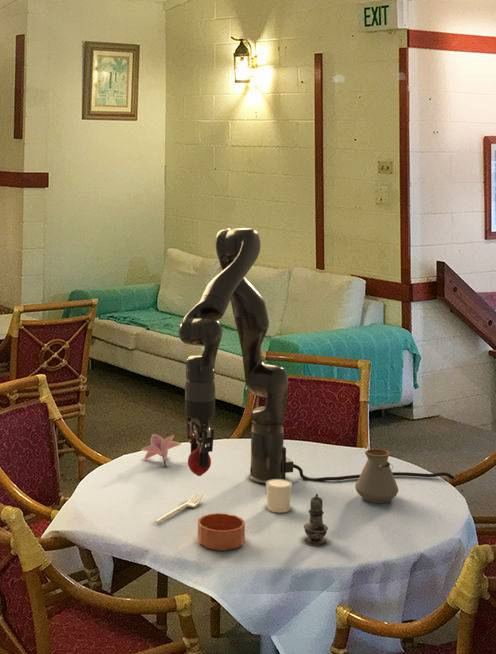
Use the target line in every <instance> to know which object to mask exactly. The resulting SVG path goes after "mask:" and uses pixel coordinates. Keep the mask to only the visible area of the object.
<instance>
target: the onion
mask: <svg viewBox="0 0 496 654" xmlns="http://www.w3.org/2000/svg"><path fill="white" fill-rule="evenodd" d="M211 465H212V458H211V455H209V462H208V466H207V467H200V466H199V445H198V447H197V449H195V450H194V451H192V452H191V451H190V453H189V455H188V458H187V466H188V468H189V470H190V471H191V472H192V473H193V474H194V475H196V476H197V477H201V476H203V475H204V474H205V473H207V472H208V471H209V470H210V468H211Z"/></svg>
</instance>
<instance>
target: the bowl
mask: <svg viewBox="0 0 496 654" xmlns="http://www.w3.org/2000/svg"><path fill="white" fill-rule="evenodd" d="M245 533H246V521H245V520H244V519H243V518H242V517H241V516H238V515H236V514H232V513H222V512H221V513H219V512H217V513H216V512H215V513H208V514H205V515H202V516H201V517H200V518H198V520H197V542H198V543H199V544H200V545H202V546H203V547H205V548H208V549H211V550H214V551H230V550H235V549H238V548H239V547H242V545H243V544H244V543H246V542H245V539H246V538H245V537H246V534H245Z"/></svg>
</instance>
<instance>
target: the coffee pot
mask: <svg viewBox="0 0 496 654" xmlns="http://www.w3.org/2000/svg"><path fill="white" fill-rule="evenodd" d="M364 455H365V456H366V458H367V460H366V462H365V464H364V467H363V469H362V470H361V473H360V474H361V475H360V474H359V475H360V477H359V478H357V481H356V482H355V484H354V488H355V491H356V493H357V494H358V495H359V496H360V497H361V498H362V499H363V500H364V501H366V502H369V503H373V504H386V503H389V502H390V501H391V500H392V499H394V498H395V497H396V496H397V495H398V493H399V487H398V484H397V481H396V478H395V476H393V473H392V472H393V471H392V470H393V469H394V466H393V464H391V463H390V462H389V461H388V459H389V457H390V455H391V452H390V451H389V450H386V449H382V448H369V449H367V450H365V452H364ZM391 466H392V468H391Z"/></svg>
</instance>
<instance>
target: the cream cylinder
mask: <svg viewBox="0 0 496 654" xmlns="http://www.w3.org/2000/svg"><path fill="white" fill-rule="evenodd" d="M265 487H266V503H267V504H266V505H267V510H268V511H270V512H272V513H280V514H281V513H286V512H288V511H290V505H291V504H290V503H291V496H292V490H293V489H292V488H293V483H292V481H290V480H287V479H285V480H283V479H271V480H268V481H267V482H266V484H265Z"/></svg>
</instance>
